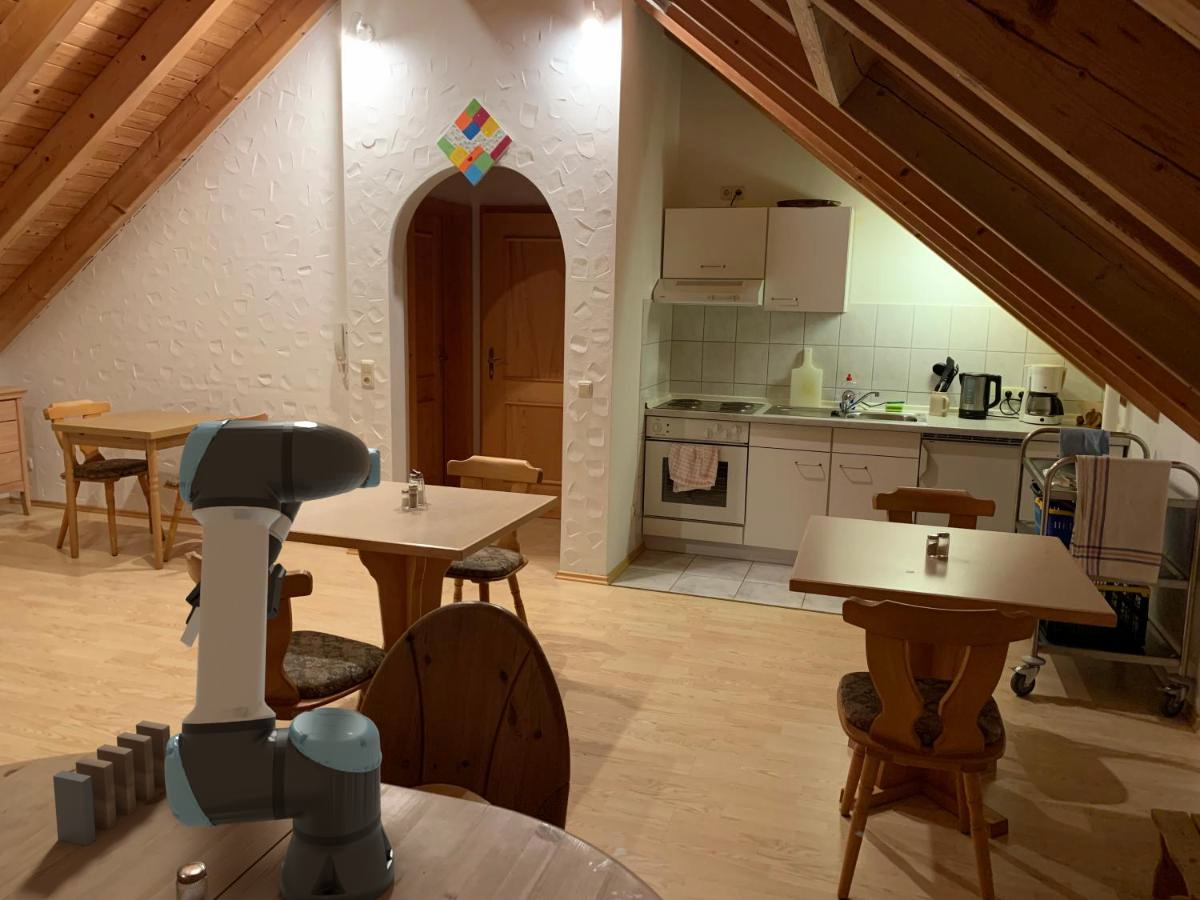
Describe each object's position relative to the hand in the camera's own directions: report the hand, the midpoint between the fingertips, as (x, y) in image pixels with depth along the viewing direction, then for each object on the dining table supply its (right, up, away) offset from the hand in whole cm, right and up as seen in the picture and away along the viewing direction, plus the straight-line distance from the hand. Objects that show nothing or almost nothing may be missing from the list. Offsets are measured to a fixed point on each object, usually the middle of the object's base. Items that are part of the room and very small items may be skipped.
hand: (212, 648), depth 157 cm
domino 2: (-7, -21, -23) cm, 32 cm away
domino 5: (-4, -19, -11) cm, 23 cm away
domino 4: (-5, -20, -15) cm, 25 cm away
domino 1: (-8, -22, -26) cm, 35 cm away
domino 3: (-6, -21, -19) cm, 29 cm away
